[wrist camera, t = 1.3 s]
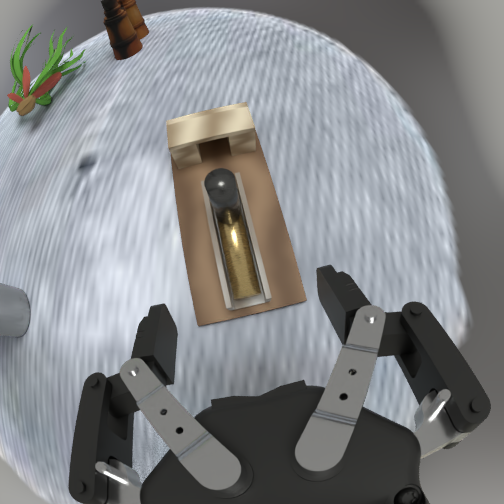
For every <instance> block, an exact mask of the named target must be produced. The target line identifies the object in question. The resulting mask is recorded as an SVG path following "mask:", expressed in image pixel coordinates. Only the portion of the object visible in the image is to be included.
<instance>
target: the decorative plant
mask: <svg viewBox="0 0 504 504" xmlns="http://www.w3.org/2000/svg"><path fill="white" fill-rule="evenodd" d="M31 28H32V26H31V27H30V28H29V29H30V31H29V29H28V30H27V32H26V33H25V34H24V36H23V37H22V39H21V40H20V42H19V44H18V46H17V48H16V51H15V54H14V55H13V58H12V55H11V60H10V65H11V71H12V74H13V76H14V78H15V83H16V81H17V82H18V83H19V84H20V85H21V86H19V90H18V91H17V93H16V94H14V91H15V88H16V85H15V83H14V86H13V90H12V93H10V94H8V95H7V96H8V97H9V98H10V99H9V108H10V110H11V111H12V112H13V111H15V110H17V112H19V115H21V116H24V115H26V114H28V113H29V112H31V111H32V110H33V109H34V107H35V103H37V104H40V105H47V104H50V103H51V98H52V97H51V96H50V95H49V94H48V93H49V92H50V90H51V89H52V88H53V87H54V86H55V85H56V84H57V82H58V81H59V80H60V79H61V77H62V76H64V75H66V74H68V73H70V72H72V71H74V70H76V69H78V68H79V67H80V66H81V65H82V64H83V63H85V62H83V63H82V64H81V65H79V66H78V67H76V68H74V69H70V70H67V71H65V72H63V73H61V71H63V70H65V69H66V68H68V67H70V66H71V65H72V64H74V63H75V62H77V61H78V60H80V58H81V57H82V56H83V53H84V51H85V50H83V51H82V53H81V54H80V55H79V56H78V57H76V58H75V59H73V60H72V61H70V62H69V61H68V62H65V61H64V62H63V63H65V64H63V65H61V64H60V65H61V66H59V65H58V64H59V62H60V61H61V59H62V57H63V54H62V56H61V54H60V53H61V51H62V38H63V35H64V33H65V31H66V29H67V28H66V29H65V30H64V31H63V33H62V34H61V36H60V38H59V41H58V46H57V48H56V49H55V50H54V49H53V45H52V44H53V42H52V37H51V40H50V47H49V55H50V58H49V61H48V63H47V64H45V68H44V69H43V71H42V72H41V74H40V76H39V77H38V79H37V80H36V82H35V81H34V82H35V84H34V85H33V87H32V88H31V90H30V92H29V89H30V86H31V85H32V84H33V83H34V82H33V83H32V84H31V85H30V73H29V71H28V69H27V67H26V66H25V68H24V70H23V58H24V55H25V53H26V51H27V50H28V47H29V45H30V44H31V43H32V41H33V40H34V39H35V38H36V37H37V36H38V35H39V34H38V35H36V36H35V37H34V38H33V39H32V40H31V41H30V42H29V44H28V45H27V46H26V47H25V49H24V52H23V54H22V56H21V58H20V60H19V55H20V49H21V46H22V44H23V41H24V39H25V37H26V35H27V33H28V31H29V34H28V38H29V35H30V32H31ZM52 36H53V35H52ZM70 40H71V39H69V40H68V41H70ZM27 41H28V39H27ZM68 41H67V42H68ZM67 42H66V44H67ZM26 44H27V42H26ZM66 44H65V45H66ZM53 52H54V55H53ZM52 55H53V57H52ZM72 55H73V52H72V49H71V52H70V57H71V56H72ZM70 57H69V58H70ZM69 58H68V59H69ZM68 59H67V60H68ZM67 60H66V61H67ZM53 64H54V65H53ZM58 66H59V67H58ZM51 67H52V68H51ZM50 68H51V69H50ZM49 69H50V70H49ZM48 70H49V71H48ZM44 75H45V76H44ZM43 76H44V77H43ZM22 89H23V91H22ZM21 91H22V93H21ZM23 92H24V94H23ZM46 94H47V95H46ZM22 95H23V96H22ZM38 97H40V99H39V98H38ZM37 98H38V99H37ZM13 104H14V105H13ZM11 105H12V106H11ZM17 106H18V107H17Z"/></svg>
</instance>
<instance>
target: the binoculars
mask: <svg viewBox="0 0 504 504" xmlns="http://www.w3.org/2000/svg"><path fill="white" fill-rule="evenodd" d="M101 3H102V6H103V8H104V10H105V11H104V14H105V16H106V17H105V18H104V24H105V26H106V29H107V33H108V36H109V39H110V45H111V47H112V48H113V52H114V55H115V58H116V60H123V59H127V58H129V57H131V56H133V55H135V54H136V53H138V52H139V51H140V50H141V49H142V47H143V45H142V43H141V42H140V39H142V38H144V37H145V36H146V35H148V33H149V30H148V28H147V26H146V24H145V22H144V18H142V16H141V14H140V11H139V9H138V7H137V5H136V1H135V0H102V1H101Z"/></svg>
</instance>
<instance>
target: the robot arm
mask: <svg viewBox="0 0 504 504" xmlns="http://www.w3.org/2000/svg"><path fill="white" fill-rule="evenodd" d="M316 272H317V288H318V296H319V300H320V302H321V304H322V306H323V308H324V310H325V312H326V314H327V316H328V317H329V319H330V321H331V323H332V325H333V327H334V329H335V331H336V333H337V335H338V337H339V339H340V341H341V343H342V345H343V346H342V348H341V351H340V354H339V356H338V359H337V361H336V364H335V367H334V369H333V372H332V374H331V376H330V379H329V381H328V384H327V386H326V388H324V387H319V386H306V384H305V381H304V380H302V381H298V382H294V383H290V384H287V385H283V386H280V387H278V388H276V389H274V390H272V391H269V392H267V393H265V394H263V395H261V396H231V397H225V398H219V399H212V400H211V403H212V406H211V407H208V408H207V409H205V410H203V411H201V412H200V413H199V414H197V415H196V416H195V417H194V418H193V417H192V416H191V415H190V413H189V412H188V411H187V410H186V409H185V408H184V407H183V406H182V405H181V404H180V403H179V402H178V401H177V400H176V398H175V397H174V396H173V395H172V394H171V393H170V392H169V391H168V389H167V388H166V385H171V384H174V375H175V360H176V348H177V336H178V333H177V328H176V325H175V323H174V321H173V319H172V317H171V315H170V313H169V311H168V308H167V306H166V305H165V304H159V305H154V306H151V307H150V310H149V314H148V316H147V317H144V318H143V319H142V321H141V322H140V324H139V326H138V330H137V334H136V339H135V343H134V347H133V351H132V356H131V359H130V360H128V361H126V362H125V363H124V364H123V365H122V367H121V369H120V373H118V374H115V375H113V376H110V377H108V378H106V376H105V375H104V374H102V373H94V374H92V375H90V376H89V377H88V378H87V379H86V381H85V383H84V386H83V391H82V395H81V400H80V405H79V410H78V415H77V420H76V426H75V432H74V439H73V446H72V453H71V462H70V473H69V492H70V494H71V496H72V497H73V498H74V499H75V500H76V501H78V502H80V503H83V504H430V503H429V501H428V500H427V498H426V496H425V494H424V492H423V491H422V488H421V485H420V481H419V465H420V459H422V458H424V457H426V456H428V455H430V454H432V453H434V452H436V451H438V450H439V449H441V448H443V449H450V448H452V447H454V446H456V445H457V444H458V443H459V442H461V441H462V440H463V439H464V438H465V437H466V436H468V435H469V434H470V433H471V432H472V431H473V430H474V429H475V428H476V427H477V426H479V425H480V424H481V423H482V422H483V421H484V420H485V419H486V418H487V417H488V415H489V413H490V409H491V404H490V400H489V398H488V397H487V395H486V393H485V391H484V389H483V388H482V386H481V384H480V383H479V381H478V380H477V378H476V376H475V375H474V373H473V371H472V370H471V369H470V367H469V365H468V364H467V362H466V361H465V359H464V358H463V356H462V355H461V353H460V352H459V350H458V349H457V347H456V346H455V344H454V343H453V341H452V340H451V339H450V337H449V336H448V334H447V333H446V332H445V330H444V329H443V328H442V326H441V325H440V323H439V322H438V321H437V319H436V318H435V317H434V316H433V314H432V313H431V312H430V310H429V309H428V308H427V307H426V306H425V305H424V304H422V303H420V302H409V303H407V304H405V305H404V306H403V308H402V312H390V313H387V312H384V311H383V310H382V309H381V308H380V307H377V306H374V305H371V304H370V302H369V301H368V299H367V298H366V297H365V295H364V294H363V293H362V291H361V290H360V288H358V286H357V284H356V283H355V282H354V280H353V279H352V278H351V276H350V275H348V274H346V273H344V272H343V271H342V272H338V273H337V272H336V271H335V269H334V268H333V267H332V265H327V266H323V267H319V268H317V270H316ZM29 318H30V308H29V303H28V299H27V297H26V295H25V293H24V292H23V291H22V290H21V289H19V288H16V287H12V286H8V285H5V284H2V283H0V336H7V337H21V336H23V335H24V333H25V332H26V330H27V328H28V324H29ZM392 355H394V356H395V358H396V360H397V362H398V364H399V366H400V367H401V369H402V371H403V373H404V375H405V377H406V379H407V381H408V383H409V385H410V387H411V389H412V391H413V393H414V395H415V397H416V399H417V401H418V403H419V407H418V409H417V410H416V412H415V416H414V420H415V424H416V430H415V432H414V433H413V432H412V431H411V430H409V429H408V428H406V427H404V426H402V425H400V424H398V423H395V422H393V421H391V420H389V419H387V418H385V417H383V416H381V415H379V414H377V413H375V412H373V411H371V410H369V409H367V408H365V407H363V404H364V401H365V398H366V395H367V392H368V388H369V385H370V382H371V378H372V375H373V371H374V367H375V364H376V360H377V357H381V356H392ZM139 410H141V411H142V413H143V414H144V416H145V417H146V418H147V420H148V421H149V422H150V424H151V425H152V426H153V428H154V429H155V430H156V432H157V433H158V434H159V435H160V437H161V438H162V439H163V441H164V442H165V443H166V444H167V445H168V447H169V448H170V449H169V451H168V452H167V453H166V454H165V456H164V457H163V458H162V459H161V461H160V462H159V463H158V464H157V466H156V467H155V468H154V469H153V471H152V472H151V473H150V474H149V476H148V477H147V478H146V479H145V481H144V482H143V484H141V482H140V477H139V475H138V473H137V472H136V471H135V470H134V469H132V447H133V422H134V412H136V411H139Z"/></svg>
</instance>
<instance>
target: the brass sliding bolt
mask: <svg viewBox="0 0 504 504" xmlns="http://www.w3.org/2000/svg"><path fill="white" fill-rule="evenodd" d="M204 185H205V188H206V191H207V194H208V196H209V199H210V202H211V204H212V207H213V210H214V212H215V215H216V218H217V223H218V228H219V232H220V237H221V242H222V247H223V251H224V256H225V261H226V265H227V270H228V274H229V279H230V283H231V288H232V292H233V296H234V300H239V299H245V298H249V297H253V296H256V295H259V294H261V290H260V286H259V282H258V278H257V274H256V270H255V266H254V262H253V258H252V253H251V249H250V245H249V241H248V237H247V233H246V229H245V225H244V221H243V217H242V213H241V209H240V204H239V198H238V192H237V186H236V179H235V176H234V174H233V173H232V172H231V171H230V170H228V169H225V168H218V169H215V170H212V171H211V172H209V173H208V174H207V176H206V178H205V181H204Z"/></svg>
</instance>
